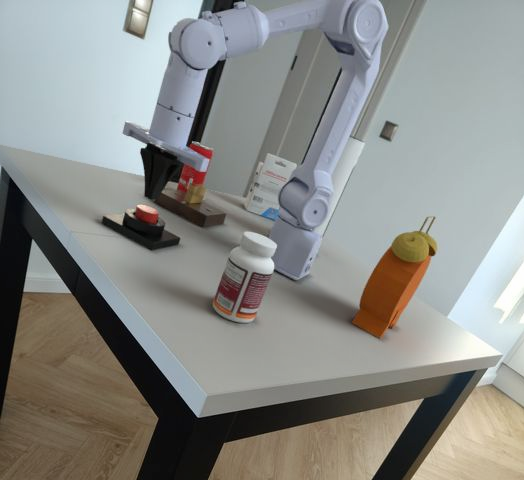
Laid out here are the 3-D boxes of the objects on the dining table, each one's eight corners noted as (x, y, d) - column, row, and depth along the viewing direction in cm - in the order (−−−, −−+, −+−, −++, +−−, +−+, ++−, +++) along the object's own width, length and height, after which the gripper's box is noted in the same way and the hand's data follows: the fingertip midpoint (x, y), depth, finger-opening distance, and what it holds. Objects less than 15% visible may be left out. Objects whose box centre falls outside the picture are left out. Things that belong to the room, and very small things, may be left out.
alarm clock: (368, 309, 95) (421, 208, 87) (397, 325, 93) (454, 223, 85) (345, 322, 84) (403, 207, 75) (378, 341, 82) (441, 225, 73)
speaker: (316, 260, 111) (370, 141, 100) (272, 243, 110) (321, 120, 99) (314, 248, 121) (363, 137, 110) (274, 231, 120) (319, 118, 108)
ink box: (273, 215, 135) (294, 161, 128) (276, 221, 130) (298, 164, 124) (243, 205, 132) (263, 148, 126) (245, 210, 128) (266, 152, 122)
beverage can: (172, 191, 116) (188, 138, 111) (193, 197, 119) (209, 146, 114) (178, 199, 113) (195, 144, 108) (200, 204, 115) (217, 152, 110)
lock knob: (196, 200, 107) (201, 182, 105) (201, 202, 107) (207, 185, 105) (184, 200, 103) (189, 182, 101) (189, 203, 102) (195, 185, 101)
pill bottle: (253, 311, 73) (281, 240, 69) (253, 329, 68) (285, 254, 63) (212, 297, 72) (238, 224, 67) (209, 314, 67) (238, 237, 62)
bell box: (178, 244, 86) (183, 228, 85) (151, 250, 79) (157, 232, 78) (131, 219, 88) (135, 203, 87) (101, 223, 81) (105, 205, 80)
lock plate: (223, 224, 108) (227, 212, 107) (202, 227, 100) (206, 214, 99) (177, 200, 111) (181, 189, 110) (153, 202, 103) (157, 189, 102)
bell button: (160, 223, 84) (163, 213, 83) (147, 224, 80) (150, 214, 80) (142, 214, 84) (145, 204, 84) (129, 215, 81) (132, 204, 80)
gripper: (119, 87, 73) (98, 179, 79) (203, 126, 70) (174, 219, 76) (148, 94, 79) (126, 179, 85) (225, 131, 76) (198, 216, 82)
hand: (151, 198), depth 81 cm, fingers closed
